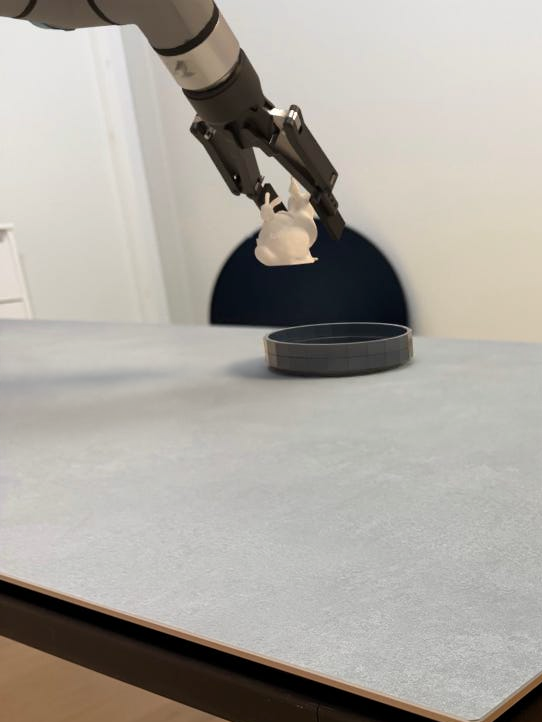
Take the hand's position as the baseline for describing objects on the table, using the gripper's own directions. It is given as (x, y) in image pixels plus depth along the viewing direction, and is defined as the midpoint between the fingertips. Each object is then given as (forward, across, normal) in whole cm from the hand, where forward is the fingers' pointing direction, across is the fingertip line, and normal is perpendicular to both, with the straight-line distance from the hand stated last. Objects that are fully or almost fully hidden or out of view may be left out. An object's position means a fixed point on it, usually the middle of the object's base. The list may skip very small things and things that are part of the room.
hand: (314, 231), depth 117 cm
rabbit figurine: (0, 0, -5) cm, 5 cm away
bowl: (+13, +1, -10) cm, 17 cm away
